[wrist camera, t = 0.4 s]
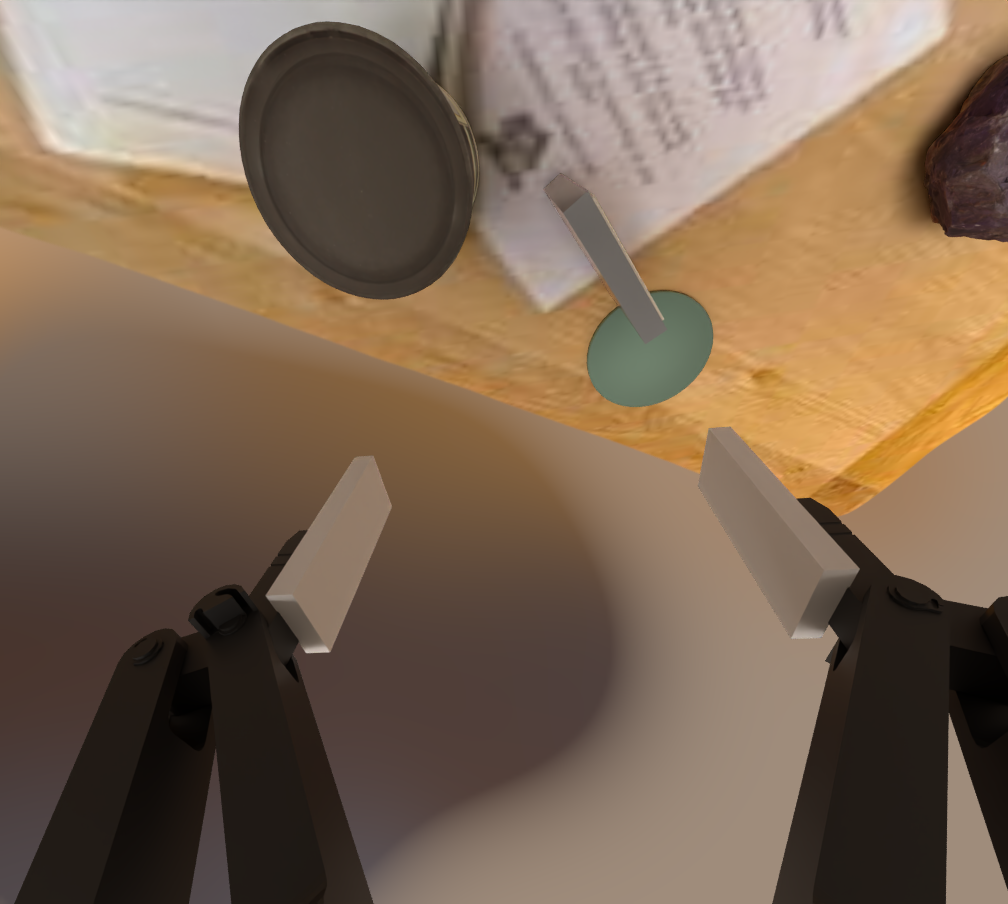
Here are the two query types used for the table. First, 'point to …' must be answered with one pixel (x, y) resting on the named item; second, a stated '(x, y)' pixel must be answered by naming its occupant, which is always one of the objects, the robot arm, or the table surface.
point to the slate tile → (606, 255)
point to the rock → (973, 163)
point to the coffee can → (357, 160)
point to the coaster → (650, 353)
